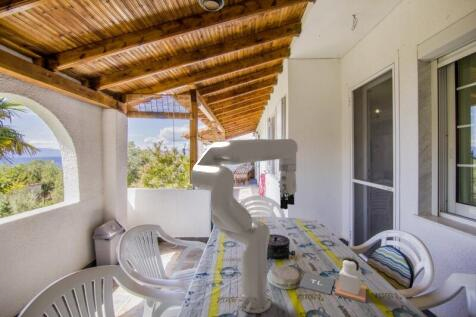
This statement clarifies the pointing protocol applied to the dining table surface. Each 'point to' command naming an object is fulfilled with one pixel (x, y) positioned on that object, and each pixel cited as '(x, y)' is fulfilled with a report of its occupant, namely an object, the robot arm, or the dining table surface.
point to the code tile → (317, 283)
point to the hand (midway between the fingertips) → (287, 206)
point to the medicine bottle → (350, 276)
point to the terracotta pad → (359, 297)
